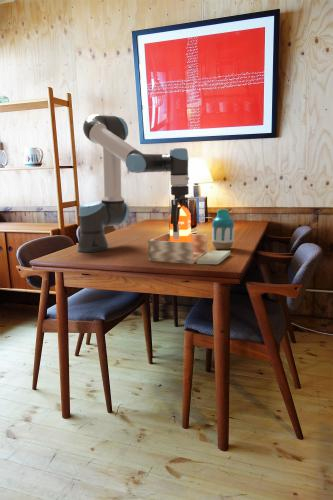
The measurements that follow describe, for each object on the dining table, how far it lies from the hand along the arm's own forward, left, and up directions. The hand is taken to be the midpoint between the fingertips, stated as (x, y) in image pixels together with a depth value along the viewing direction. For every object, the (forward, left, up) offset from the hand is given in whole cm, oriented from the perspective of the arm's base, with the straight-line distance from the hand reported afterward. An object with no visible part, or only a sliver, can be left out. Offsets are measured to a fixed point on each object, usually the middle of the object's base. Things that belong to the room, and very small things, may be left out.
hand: (180, 237), depth 169 cm
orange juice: (0, 0, -5) cm, 5 cm away
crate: (-1, 0, -9) cm, 9 cm away
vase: (+13, +22, -9) cm, 27 cm away
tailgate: (+11, 0, -9) cm, 14 cm away
